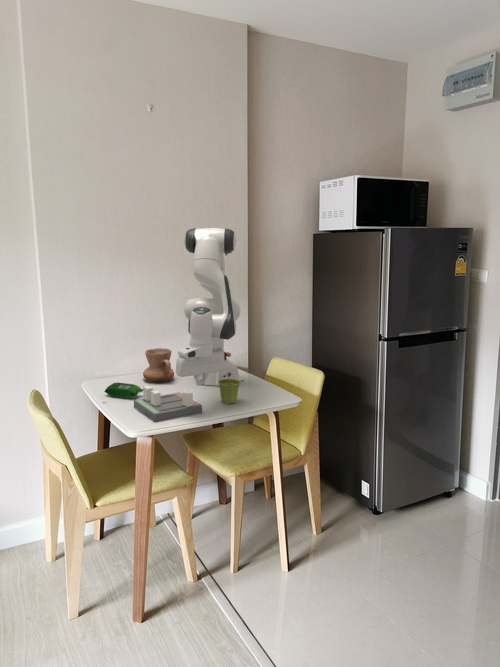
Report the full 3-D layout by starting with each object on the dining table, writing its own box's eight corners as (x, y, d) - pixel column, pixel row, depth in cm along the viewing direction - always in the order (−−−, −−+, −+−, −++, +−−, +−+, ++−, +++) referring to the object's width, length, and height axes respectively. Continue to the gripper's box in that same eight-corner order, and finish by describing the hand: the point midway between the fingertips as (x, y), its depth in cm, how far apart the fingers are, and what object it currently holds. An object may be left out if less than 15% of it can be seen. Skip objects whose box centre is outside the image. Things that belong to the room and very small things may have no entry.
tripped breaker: (188, 403, 206) (188, 390, 205) (192, 405, 204) (192, 393, 203) (182, 404, 205) (182, 391, 204) (186, 406, 202) (186, 394, 201)
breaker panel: (179, 399, 221) (179, 392, 220) (201, 412, 206) (201, 404, 205) (133, 407, 210) (133, 400, 209) (154, 422, 194) (154, 414, 194)
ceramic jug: (136, 378, 250) (136, 348, 247) (163, 373, 259) (163, 345, 256) (154, 387, 236) (153, 356, 233) (182, 382, 245) (182, 352, 242)
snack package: (135, 401, 217) (135, 389, 216) (103, 396, 222) (102, 384, 221) (144, 396, 224) (144, 384, 223) (112, 391, 229) (112, 380, 228)
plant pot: (220, 397, 224) (220, 377, 223) (242, 399, 223) (242, 379, 221) (215, 404, 215) (215, 384, 214) (238, 406, 214) (238, 385, 212)
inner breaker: (149, 397, 212) (149, 385, 211) (152, 400, 209) (152, 387, 208) (143, 398, 210) (143, 386, 209) (147, 401, 208) (146, 388, 207)
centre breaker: (156, 402, 206) (156, 390, 205) (160, 405, 203) (160, 392, 202) (150, 403, 205) (150, 391, 204) (154, 406, 202) (154, 393, 201)
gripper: (219, 346, 212) (219, 379, 214) (173, 351, 200) (173, 386, 202) (228, 348, 207) (227, 383, 209) (181, 354, 195) (181, 390, 197)
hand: (200, 384), depth 206 cm, fingers closed
